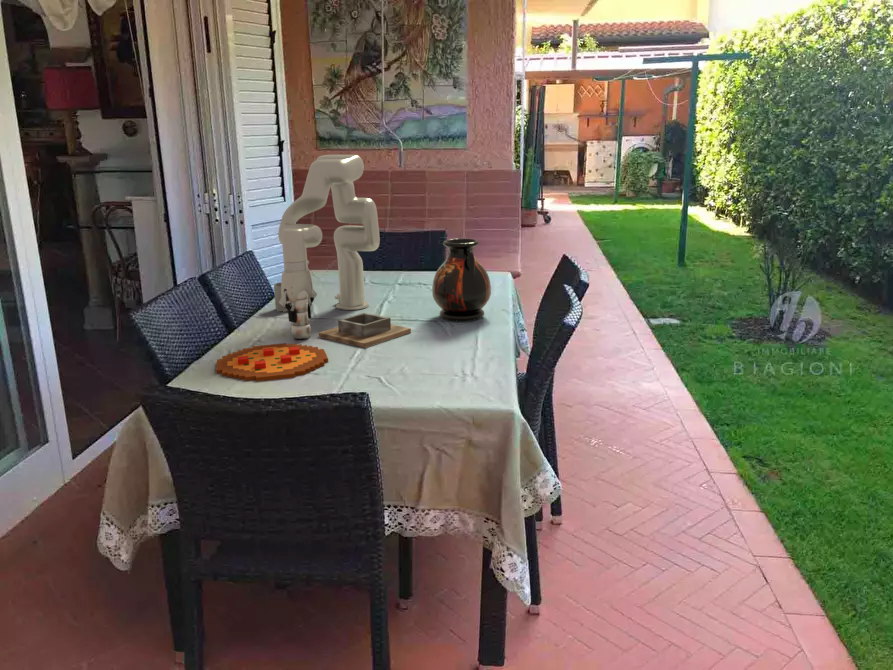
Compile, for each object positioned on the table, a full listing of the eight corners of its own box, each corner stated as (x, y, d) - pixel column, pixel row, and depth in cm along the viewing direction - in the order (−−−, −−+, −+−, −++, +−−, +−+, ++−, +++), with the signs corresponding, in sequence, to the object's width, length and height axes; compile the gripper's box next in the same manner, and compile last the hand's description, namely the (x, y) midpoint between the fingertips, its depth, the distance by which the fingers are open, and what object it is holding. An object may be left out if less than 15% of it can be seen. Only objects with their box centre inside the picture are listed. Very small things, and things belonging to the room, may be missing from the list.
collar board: (318, 336, 245) (317, 321, 244) (365, 323, 261) (364, 308, 260) (364, 347, 232) (364, 331, 230) (410, 332, 248) (410, 317, 247)
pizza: (333, 374, 208) (332, 364, 208) (216, 387, 200) (215, 376, 199) (319, 344, 238) (319, 335, 237) (217, 354, 230) (216, 345, 229)
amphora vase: (423, 313, 273) (421, 239, 265) (475, 307, 281) (475, 235, 273) (446, 327, 254) (445, 247, 246) (501, 320, 262) (501, 242, 254)
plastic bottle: (315, 336, 245) (311, 278, 240) (303, 341, 239) (299, 282, 234) (299, 334, 248) (295, 276, 242) (287, 339, 242) (283, 280, 236)
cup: (301, 307, 286) (299, 282, 283) (290, 312, 279) (288, 287, 276) (283, 306, 289) (281, 281, 286) (271, 311, 281) (269, 285, 278)
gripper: (308, 260, 245) (312, 312, 250) (267, 269, 232) (272, 323, 238) (323, 263, 241) (327, 316, 246) (282, 271, 228) (286, 327, 233)
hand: (300, 319), depth 242 cm, fingers closed on plastic bottle, 5 cm apart
